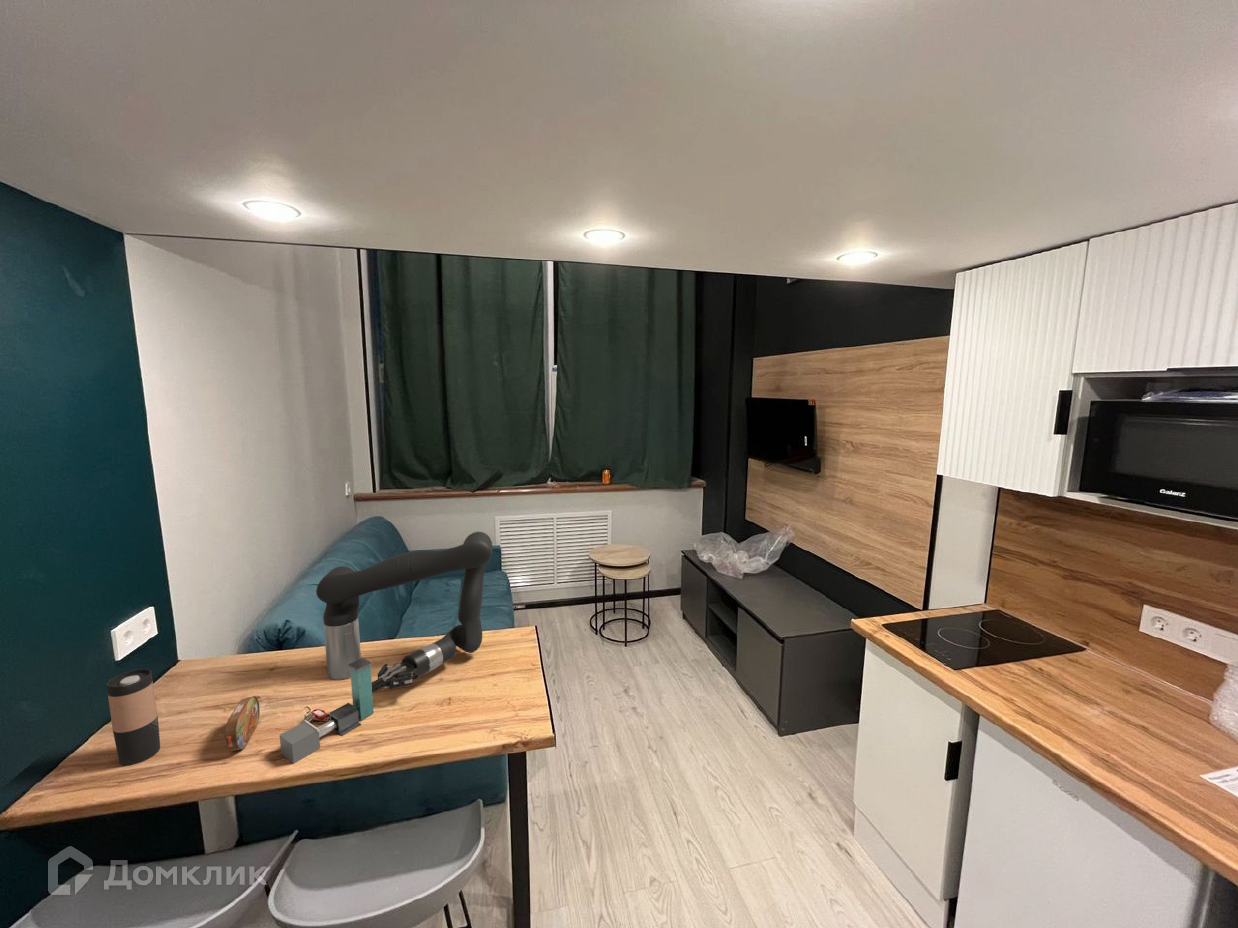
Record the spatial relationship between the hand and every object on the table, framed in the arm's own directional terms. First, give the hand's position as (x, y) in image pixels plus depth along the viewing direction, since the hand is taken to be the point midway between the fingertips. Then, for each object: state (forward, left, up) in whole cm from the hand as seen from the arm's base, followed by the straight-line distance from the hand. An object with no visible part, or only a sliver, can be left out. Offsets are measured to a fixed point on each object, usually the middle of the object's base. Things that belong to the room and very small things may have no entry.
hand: (368, 689), depth 133 cm
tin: (-17, -23, -7) cm, 29 cm away
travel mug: (-31, -39, -7) cm, 50 cm away
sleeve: (0, -7, -7) cm, 9 cm away
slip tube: (0, -9, -6) cm, 11 cm away
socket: (0, -18, -7) cm, 19 cm away
